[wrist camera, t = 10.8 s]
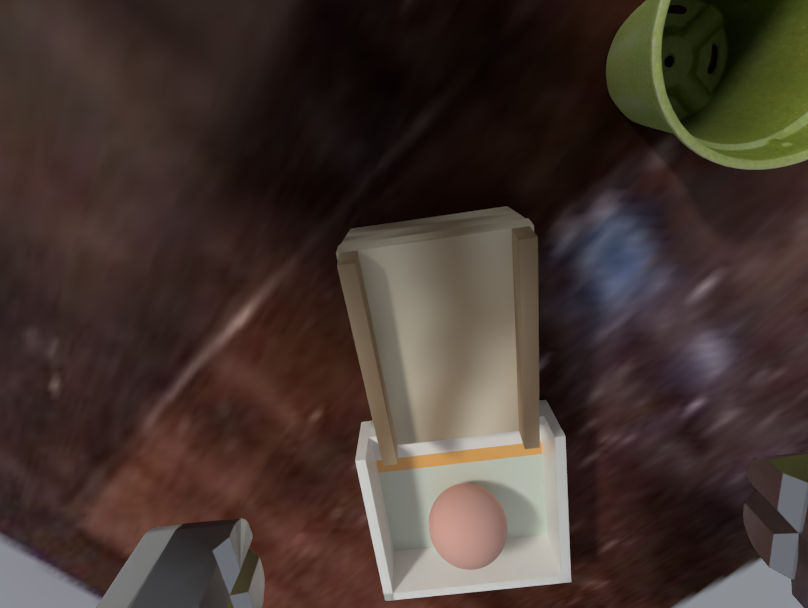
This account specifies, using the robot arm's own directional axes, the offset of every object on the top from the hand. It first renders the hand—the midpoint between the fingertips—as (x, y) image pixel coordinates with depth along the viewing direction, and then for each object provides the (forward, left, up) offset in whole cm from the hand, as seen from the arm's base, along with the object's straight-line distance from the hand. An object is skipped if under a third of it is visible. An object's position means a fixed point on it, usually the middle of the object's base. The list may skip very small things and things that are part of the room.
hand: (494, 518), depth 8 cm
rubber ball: (0, -15, -19) cm, 24 cm away
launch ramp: (0, -4, -21) cm, 21 cm away
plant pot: (+13, +8, -21) cm, 26 cm away
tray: (0, -17, -21) cm, 27 cm away
